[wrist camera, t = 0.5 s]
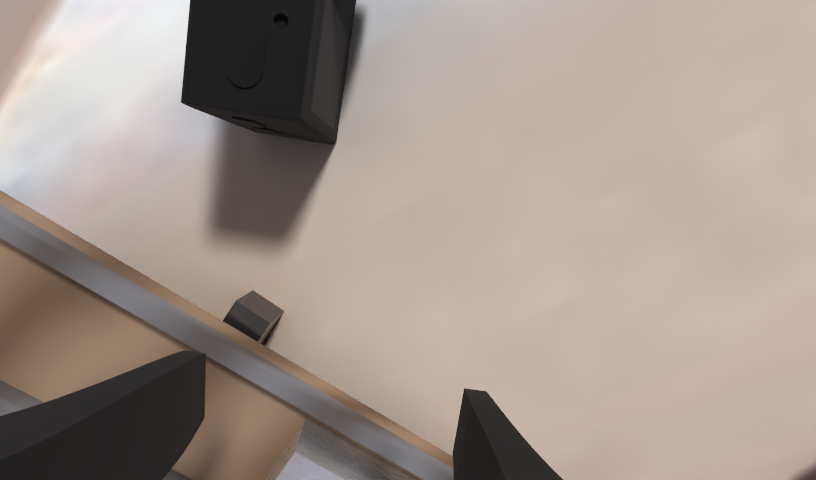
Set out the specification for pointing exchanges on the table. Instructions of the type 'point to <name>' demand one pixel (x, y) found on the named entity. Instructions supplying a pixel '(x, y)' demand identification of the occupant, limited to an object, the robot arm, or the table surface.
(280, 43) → the digital camera
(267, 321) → the pivot stand
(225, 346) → the beam
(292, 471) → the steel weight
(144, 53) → the table surface
